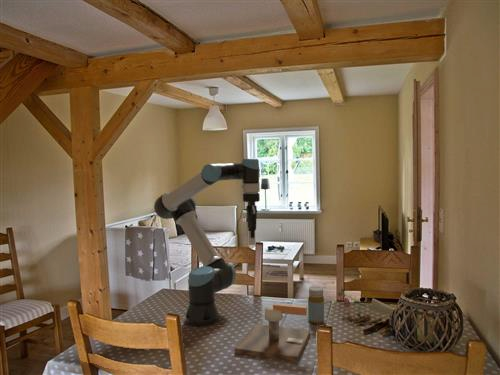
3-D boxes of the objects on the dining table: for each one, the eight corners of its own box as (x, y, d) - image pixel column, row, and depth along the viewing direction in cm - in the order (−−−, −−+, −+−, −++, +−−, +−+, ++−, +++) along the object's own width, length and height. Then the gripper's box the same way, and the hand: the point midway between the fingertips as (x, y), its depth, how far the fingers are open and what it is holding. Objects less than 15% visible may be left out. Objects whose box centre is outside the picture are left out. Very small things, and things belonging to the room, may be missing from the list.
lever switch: (262, 320, 156) (262, 306, 156) (267, 314, 163) (267, 300, 163) (304, 325, 151) (304, 310, 151) (308, 318, 158) (308, 304, 157)
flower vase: (409, 343, 173) (330, 314, 187) (412, 325, 183) (337, 299, 197) (415, 322, 169) (333, 294, 183) (418, 305, 178) (341, 280, 193)
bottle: (324, 325, 177) (323, 291, 176) (307, 324, 178) (307, 290, 177) (324, 319, 183) (324, 286, 182) (308, 318, 185) (308, 285, 184)
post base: (234, 353, 152) (234, 327, 151) (254, 328, 174) (254, 305, 174) (297, 362, 144) (297, 335, 143) (310, 335, 166) (309, 311, 166)
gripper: (240, 192, 187) (241, 242, 189) (245, 194, 175) (246, 248, 176) (256, 191, 189) (257, 241, 190) (262, 193, 176) (263, 247, 177)
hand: (252, 244), depth 183 cm, fingers closed
